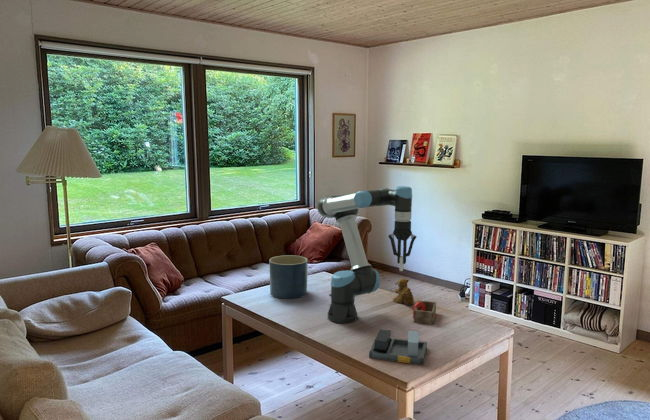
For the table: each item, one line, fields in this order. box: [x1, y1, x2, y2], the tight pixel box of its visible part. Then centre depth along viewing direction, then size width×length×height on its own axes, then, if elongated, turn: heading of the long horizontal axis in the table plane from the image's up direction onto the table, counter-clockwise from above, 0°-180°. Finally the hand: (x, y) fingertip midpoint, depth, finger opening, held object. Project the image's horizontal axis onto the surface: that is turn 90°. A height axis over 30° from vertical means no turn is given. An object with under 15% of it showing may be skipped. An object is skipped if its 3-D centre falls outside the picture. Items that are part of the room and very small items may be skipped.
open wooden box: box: [413, 299, 437, 325], centre depth 250 cm, size 9×16×6 cm, turn 164°
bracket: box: [412, 302, 437, 319], centre depth 250 cm, size 12×4×8 cm, turn 120°
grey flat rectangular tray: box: [368, 328, 428, 366], centre depth 208 cm, size 22×18×7 cm
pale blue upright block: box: [407, 330, 420, 357], centre depth 207 cm, size 4×12×7 cm, turn 168°
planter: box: [268, 254, 309, 300], centre depth 286 cm, size 22×22×20 cm
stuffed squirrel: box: [392, 278, 415, 306], centre depth 272 cm, size 10×14×13 cm
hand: (401, 270), depth 229 cm, fingers closed
